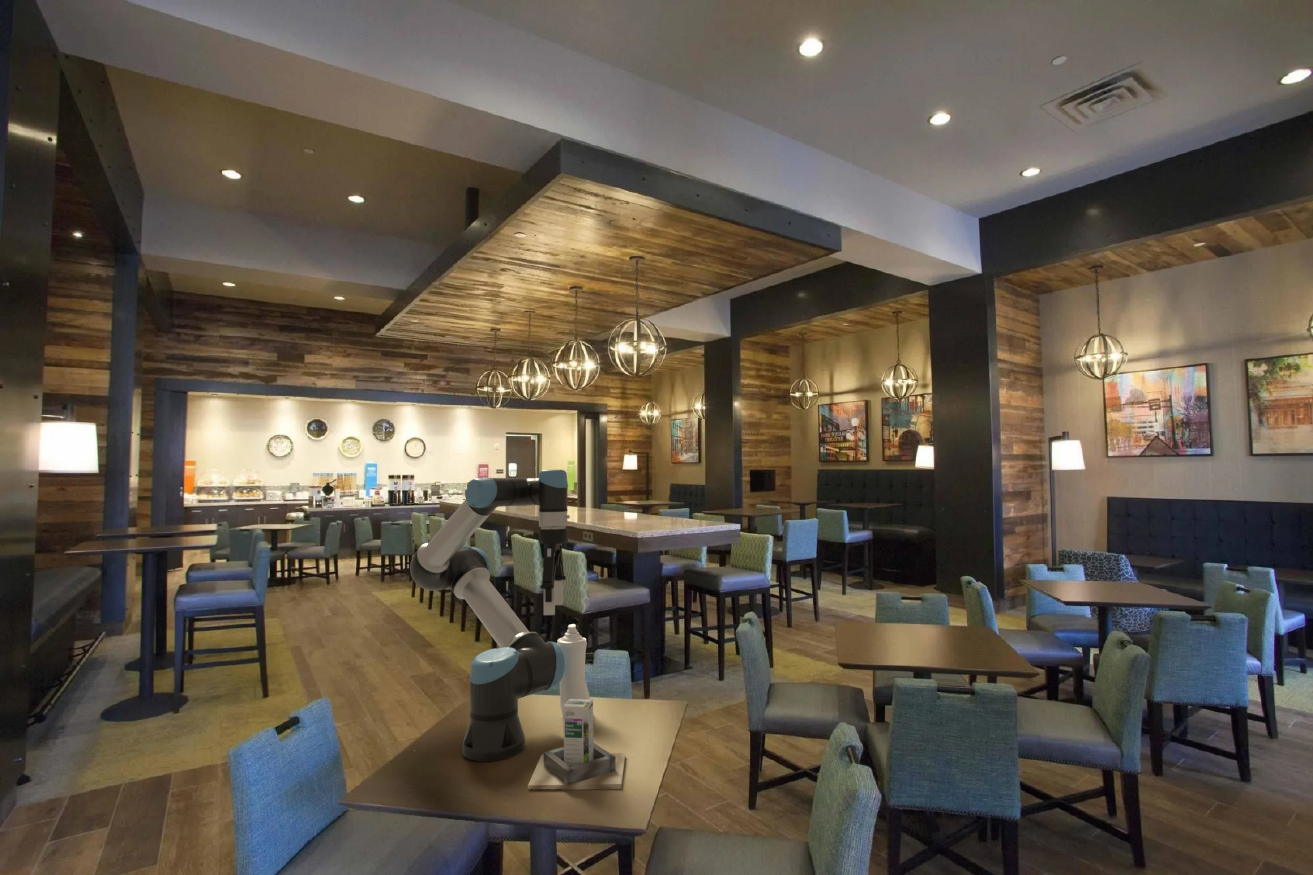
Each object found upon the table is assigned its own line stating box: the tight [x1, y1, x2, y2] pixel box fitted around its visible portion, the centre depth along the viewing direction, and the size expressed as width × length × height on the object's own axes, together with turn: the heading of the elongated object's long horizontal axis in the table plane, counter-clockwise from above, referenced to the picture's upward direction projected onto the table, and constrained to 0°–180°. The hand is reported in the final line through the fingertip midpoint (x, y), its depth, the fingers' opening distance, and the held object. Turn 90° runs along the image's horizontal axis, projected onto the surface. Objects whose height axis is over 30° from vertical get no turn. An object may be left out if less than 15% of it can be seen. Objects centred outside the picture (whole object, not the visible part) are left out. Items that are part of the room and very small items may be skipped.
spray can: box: [556, 623, 595, 720], centre depth 182 cm, size 12×11×25 cm
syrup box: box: [563, 698, 594, 767], centre depth 145 cm, size 6×6×14 cm
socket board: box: [527, 741, 626, 791], centre depth 144 cm, size 20×17×4 cm
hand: (553, 609), depth 167 cm, fingers open, 13 cm apart
